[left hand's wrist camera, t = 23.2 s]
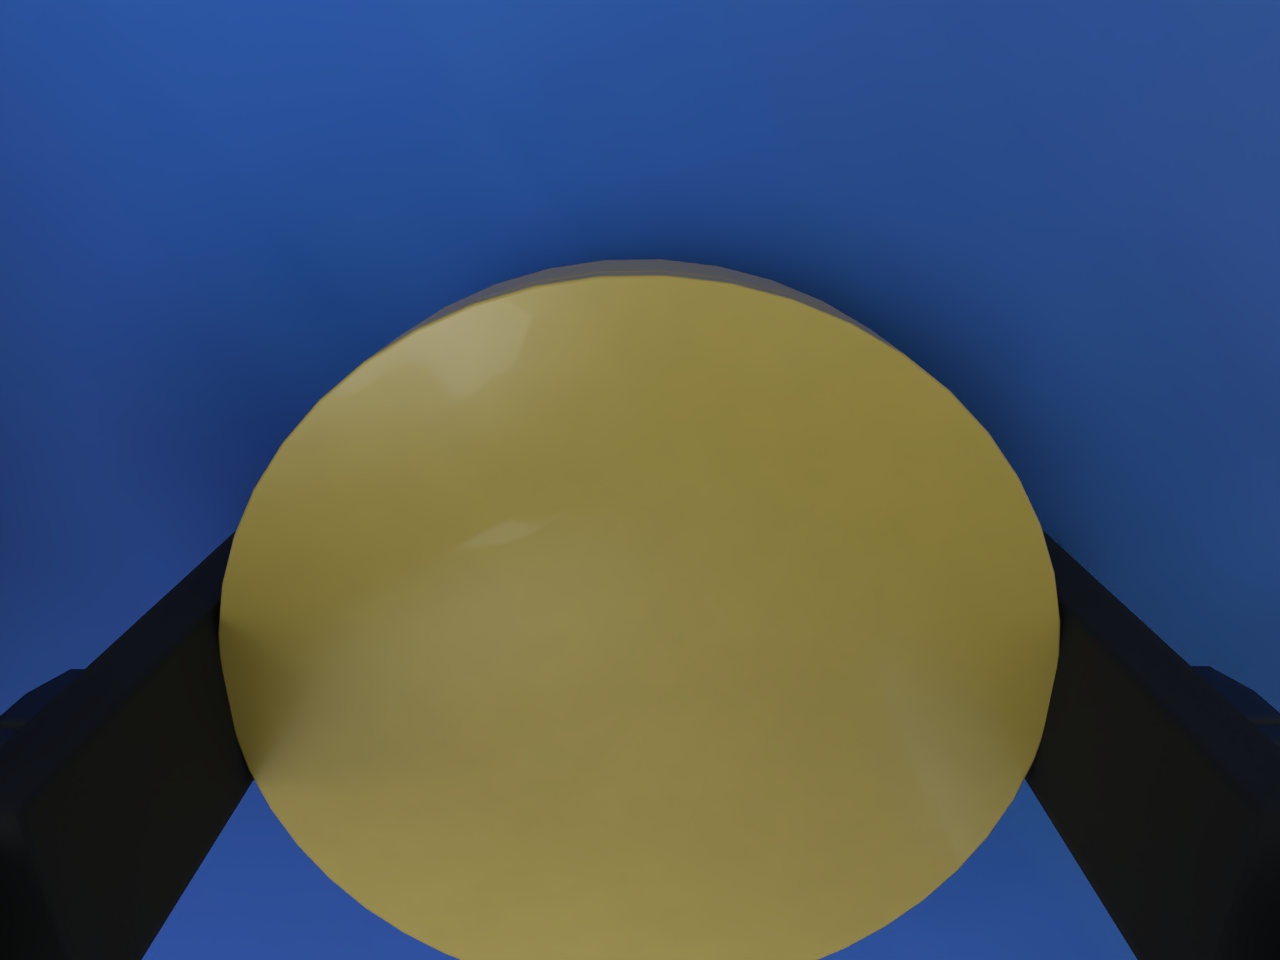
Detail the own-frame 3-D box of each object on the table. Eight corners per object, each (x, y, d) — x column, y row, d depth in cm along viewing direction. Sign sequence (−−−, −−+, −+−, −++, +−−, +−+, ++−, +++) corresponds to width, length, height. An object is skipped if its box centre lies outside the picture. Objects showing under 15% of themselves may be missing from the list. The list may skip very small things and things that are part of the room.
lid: (222, 818, 13) (169, 901, 12) (346, 136, 10) (293, 132, 8) (836, 966, 14) (858, 1057, 13) (1151, 406, 11) (1230, 445, 9)
